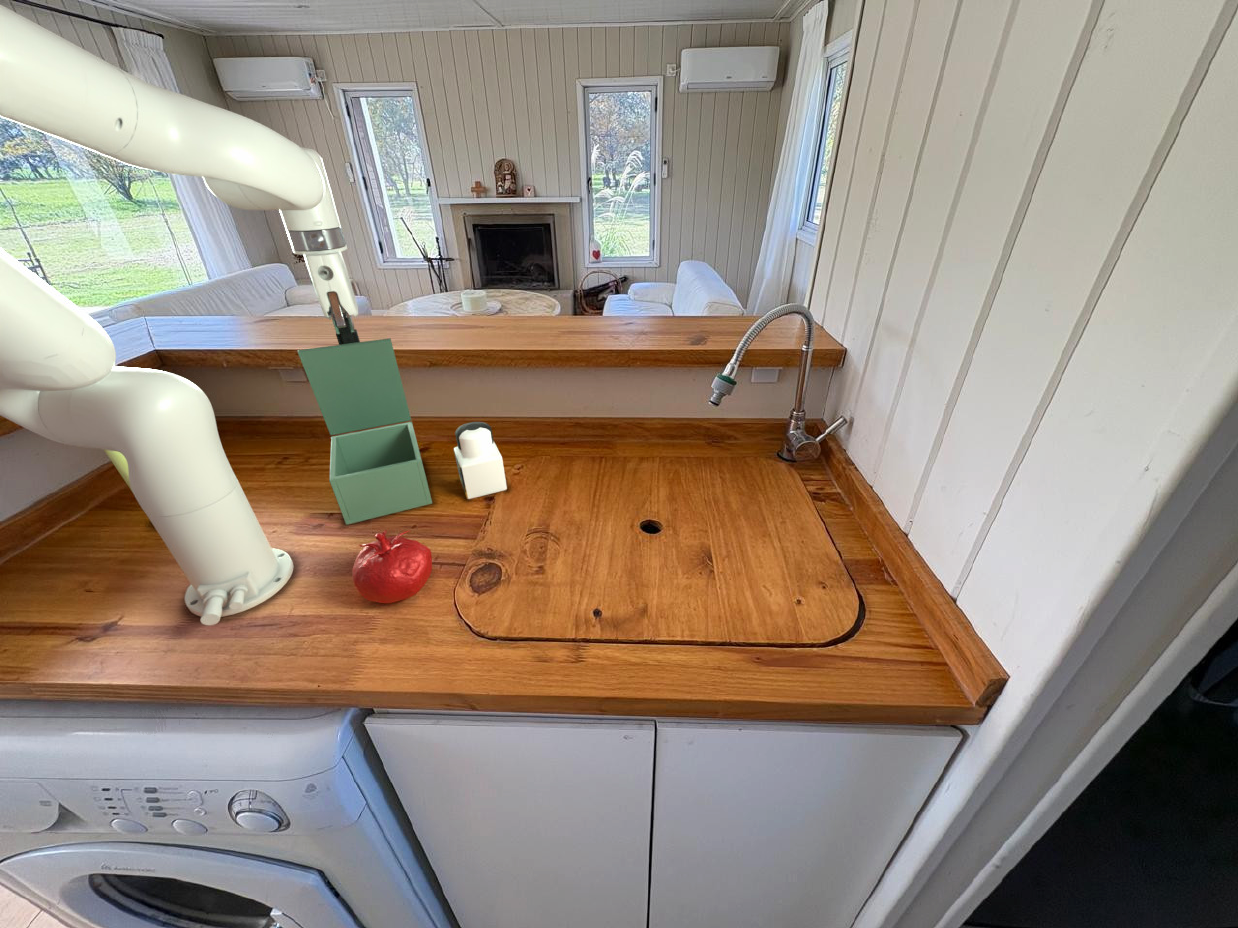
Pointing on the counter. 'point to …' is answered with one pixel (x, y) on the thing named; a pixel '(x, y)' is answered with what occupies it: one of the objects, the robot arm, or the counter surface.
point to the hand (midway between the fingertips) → (353, 353)
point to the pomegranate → (391, 568)
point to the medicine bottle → (479, 460)
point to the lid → (356, 385)
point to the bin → (377, 472)
